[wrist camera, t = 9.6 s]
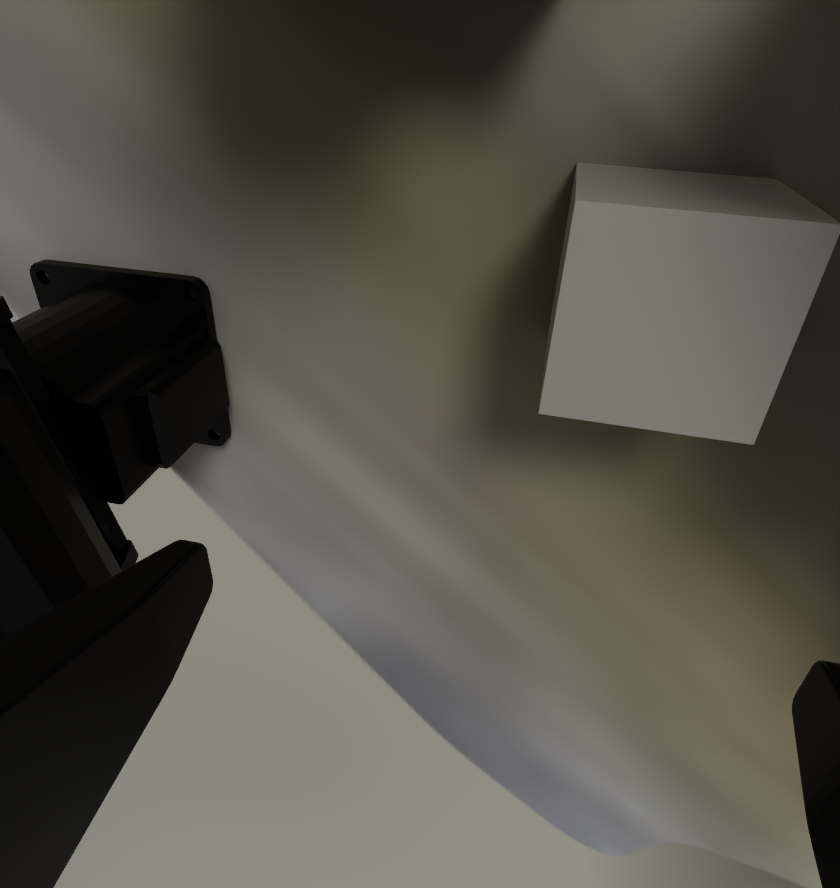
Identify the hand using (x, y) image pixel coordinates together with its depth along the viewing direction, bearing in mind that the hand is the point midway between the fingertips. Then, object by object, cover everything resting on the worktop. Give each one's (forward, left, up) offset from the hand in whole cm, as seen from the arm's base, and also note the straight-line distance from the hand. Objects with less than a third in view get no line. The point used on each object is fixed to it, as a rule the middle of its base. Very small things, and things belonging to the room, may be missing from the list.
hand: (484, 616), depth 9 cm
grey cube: (+3, +2, -12) cm, 13 cm away
